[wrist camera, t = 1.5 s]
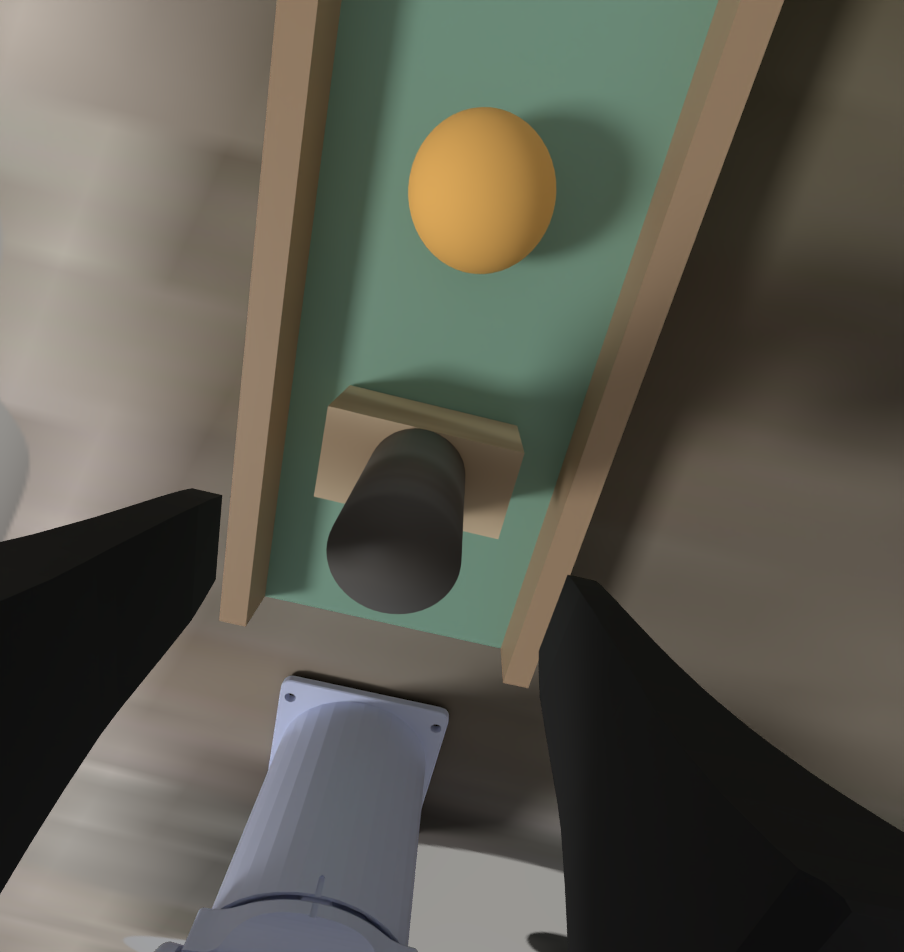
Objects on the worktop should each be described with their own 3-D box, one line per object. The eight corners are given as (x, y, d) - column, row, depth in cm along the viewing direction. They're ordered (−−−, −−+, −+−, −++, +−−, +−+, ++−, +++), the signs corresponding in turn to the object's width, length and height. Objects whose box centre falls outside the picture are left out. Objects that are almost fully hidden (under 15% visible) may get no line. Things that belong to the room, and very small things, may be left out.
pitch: (520, 631, 24) (541, 798, 16) (254, 571, 23) (150, 716, 16) (906, -476, 12) (1571, -1619, 5) (398, -649, 12) (264, -2253, 4)
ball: (525, 286, 17) (539, 292, 14) (404, 255, 17) (385, 252, 13) (563, 147, 16) (590, 111, 12) (431, 111, 16) (418, 64, 12)
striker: (494, 501, 20) (506, 640, 13) (336, 463, 20) (252, 584, 12) (517, 425, 19) (544, 529, 11) (349, 385, 19) (267, 464, 11)
